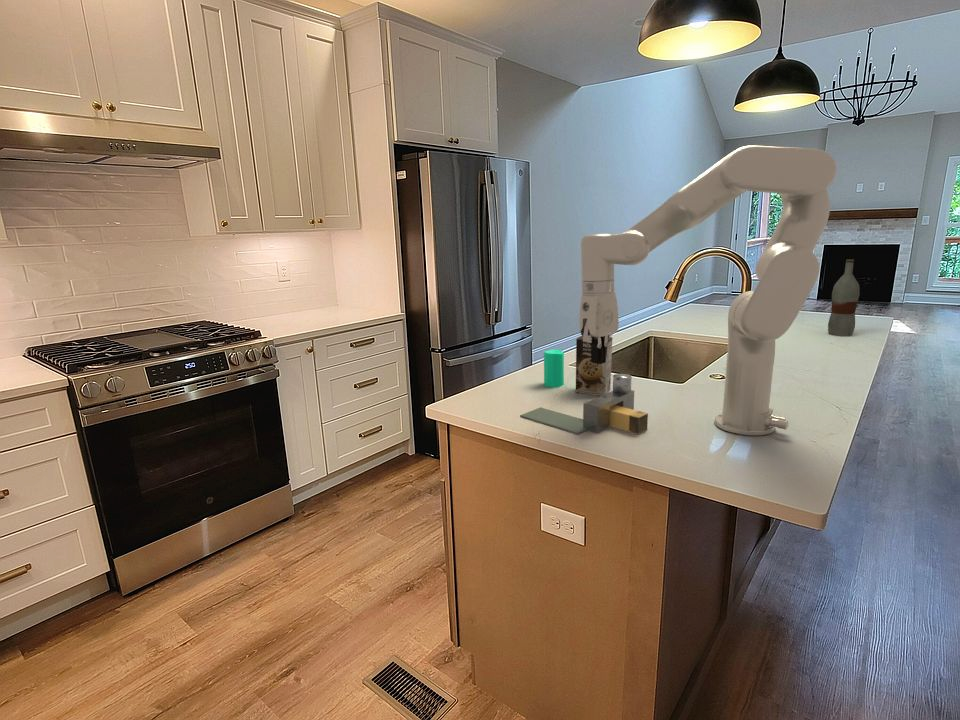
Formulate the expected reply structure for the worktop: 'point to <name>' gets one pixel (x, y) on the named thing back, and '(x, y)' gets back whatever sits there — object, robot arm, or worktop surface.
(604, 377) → the coffee box
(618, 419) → the yellow rectangular block
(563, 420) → the mat
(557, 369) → the candle
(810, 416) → the worktop surface
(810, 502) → the worktop surface
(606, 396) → the housing
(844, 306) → the bottle
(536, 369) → the worktop surface
